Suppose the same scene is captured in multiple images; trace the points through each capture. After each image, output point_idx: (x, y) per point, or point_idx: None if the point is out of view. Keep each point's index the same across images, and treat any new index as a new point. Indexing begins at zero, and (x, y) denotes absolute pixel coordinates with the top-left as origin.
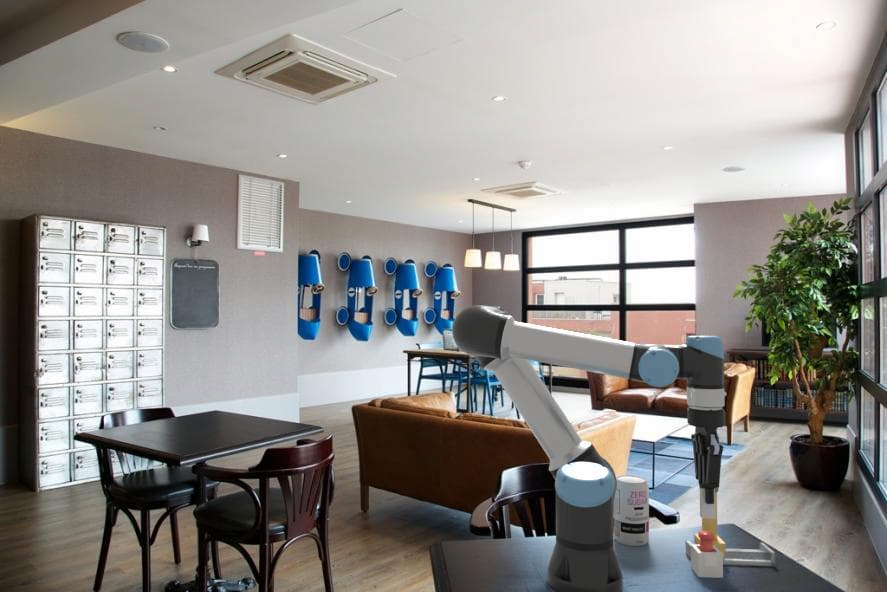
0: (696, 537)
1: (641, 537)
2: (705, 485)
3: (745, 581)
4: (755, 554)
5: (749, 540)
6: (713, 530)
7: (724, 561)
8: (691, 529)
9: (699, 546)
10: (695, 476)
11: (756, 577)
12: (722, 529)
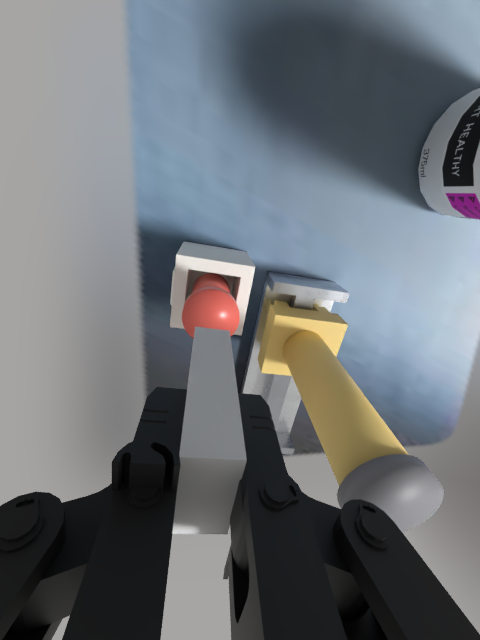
0: (327, 320)
1: (432, 168)
2: (112, 505)
3: (158, 340)
4: None
5: None
6: (290, 368)
7: (253, 344)
8: (460, 364)
9: (239, 288)
10: (386, 526)
11: (180, 372)
12: (432, 422)
